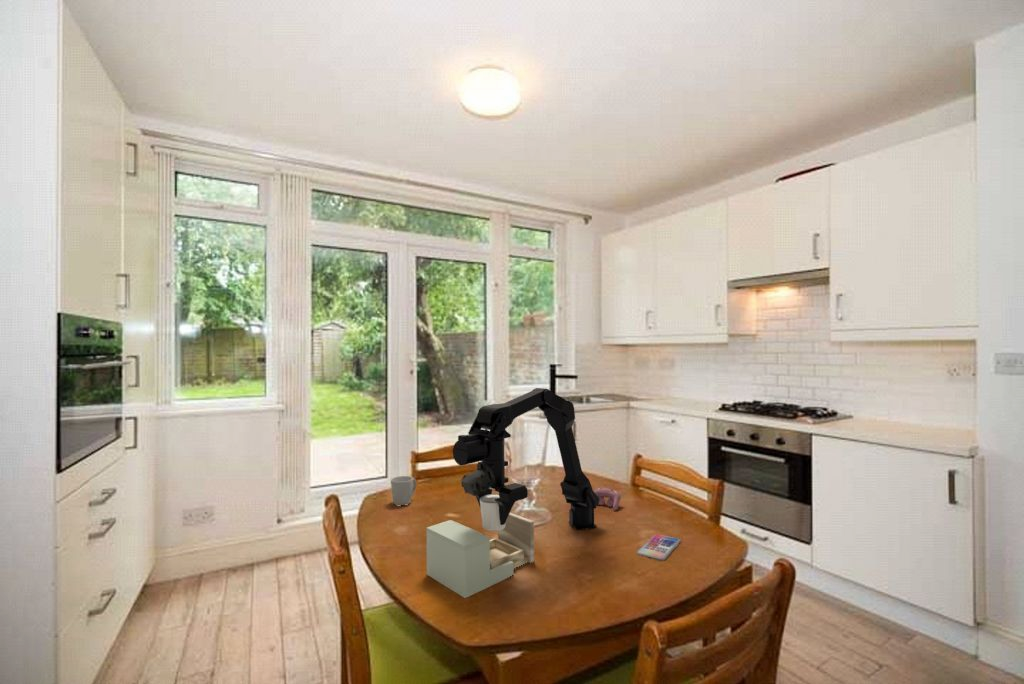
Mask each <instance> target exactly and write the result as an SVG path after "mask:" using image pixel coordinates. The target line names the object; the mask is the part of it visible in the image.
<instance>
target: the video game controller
mask: <svg viewBox="0 0 1024 684" xmlns="http://www.w3.org/2000/svg"><path fill="white" fill-rule="evenodd" d="M593 491H594V493H595V494H596V495H597V496H598V498H599V504H598V506H599V505H600V506H604V505H605V504H606V505H607V507H609V508H612V509H613V512H614V511H615V512H616V511H617V510H618V508H619V506H620V500H622V499H621V494H620V493H619V492H617V491H616V490H614V489H611V488H605V487H600V488H599V487H598V488H597V487H596V488H595V489H594V490H593ZM605 498H608V499H607V500H606V501H605Z"/></svg>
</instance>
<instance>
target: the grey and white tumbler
mask: <svg viewBox="0 0 1024 684" xmlns="http://www.w3.org/2000/svg"><path fill="white" fill-rule="evenodd" d="M497 498H500V497H499V493H498V494H497V493H495V494H494V493H492V494H490V495H485V496H482V497H481V498H480V506H479V508H480V507H481V509H480V515H481V516H480V517H481V525H482V529H483V530H485V531H489V532H498V530H502V529H504V528H505V524H504V525H501V524H500V516H499V504H498V503H497V502H496V501H495V499H497ZM505 523H506V522H505Z"/></svg>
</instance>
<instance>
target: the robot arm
mask: <svg viewBox="0 0 1024 684" xmlns="http://www.w3.org/2000/svg"><path fill="white" fill-rule="evenodd" d="M537 408H538V409H539V410H541V411H542V413H543V414H544V416H545V419H546V422H547V423H548V424H549V426H551V428H552V429H553V430H554V433H555V437H556V441H557V445H558V449H559V452H560V453H559V454H560V458H561V462H562V465H563V466H562V467H563V470H564V475H565V476H564V477H563V480H562V481H561V482H560V484H559V485H560V488H561V495H563V496H564V498H565V502H566V503H567V504H569V505H570V508H569V509H568V511H569V512H568V515H569V517H568V519H569V520H568V523H569V524H570V525H571V526H572V527H573V529H575V530H578V531H580V530H581V531H582V530H587V529H595V528H597V527H598V526H597V525H596V524H595V509H597V507H599V498H598V496H597V495H596V494H595V493H594V490H593V486H592V483H591V481H590V479H589V478H588V477H587V475H586V474H585V473H584V472H583V469H582V466H581V461H580V457H579V452H578V447H577V442H576V440H575V439H576V438H575V435H574V434H575V433H574V431H573V424H575V423H574V422H575V420H576V414H575V405H574V403H573V402H571V401H570V400H569V399H566V398H564V397H561V395H558V394H556V393H554V392H553V391H551V389H548V388H543V387H542V388H541V387H535V388H533V389H532V390H531V391H529V392H526V393H524V394H522V395H520V396H518V397H515V398H513V399H510V400H508V401H506V402H504V403H503V402H502V403H493V404H487V405H483V406H481V407H480V408H478V412H477V415H476V417H475V419H474V420H473V422H472V424H471V426H470V428H469V430H468V432H467V433H468V434H460V435H458V436H457V440H456V441H455V443H454V445H453V448H452V456H453V459H454V461H455V463H456V464H457V465H458V466H467V465H470V464H474V463H477V464H476V469H475V470H474V471H472V472H471V473H468V474H464V475H463V477H462V478H461V480H460V481H461V487H462V488H463V490H464V493H465V494H469V495H471V496H473V497H475V499H476V501H477V503H478V506H479V509H480V510H481V507H480V498H481V497H482V496H485V495H490V494H493V491H495V492H498V494H499V497H500V498H497V499H495V501H496V502H497V503H498V504H499V516H500V524H501V525H504V524H505V522H506V520H507V518H508V516H509V513H511V511H512V508H513V507H514V505H515V503H516V502H518V501H521V500H524V499H527V498H528V494H529V493H528V491H529V490H528V487H527V486H526V485H524V484H520V483H518V482H513V483H510V484H507V485H506V483H509V477H507V476H506V475H505V473H506V471H505V470H506V467H507V466H509V461H508V460H505V459H506V458H505V439H507V438H509V439H510V438H511V437H512V435H511V434H510V432H508V430H507V428H508V427H509V426H511V425H512V424H513V421H514V420H515V419H516V418H518V417H520V416H522V415H524V414H526V413H528V412H531V411H532V410H535V409H537Z"/></svg>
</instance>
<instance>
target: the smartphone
mask: <svg viewBox="0 0 1024 684" xmlns="http://www.w3.org/2000/svg"><path fill="white" fill-rule="evenodd" d="M680 543H681V539H680V538H676V537H672V536H668V535H663V534H657V533H656V534H654V535H652V537H650V539H649V540H648V541H646V543H644V544H643V545H642V546H641V547H640V548H639V549H638V550H637V551H636V555H638V556H640V555H641V556H640V557H644V556H645V557H644V558H647V557H648V558H650V559H651V558H652V559H651V560H655V559H656V560H655V561H659V560H660V562H664V561H666V559H667V558H668V557H669V556H670V555H671V554H672V553H673V551H674V550H675V549H676V548H677V547H678V546H679V544H680Z"/></svg>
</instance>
